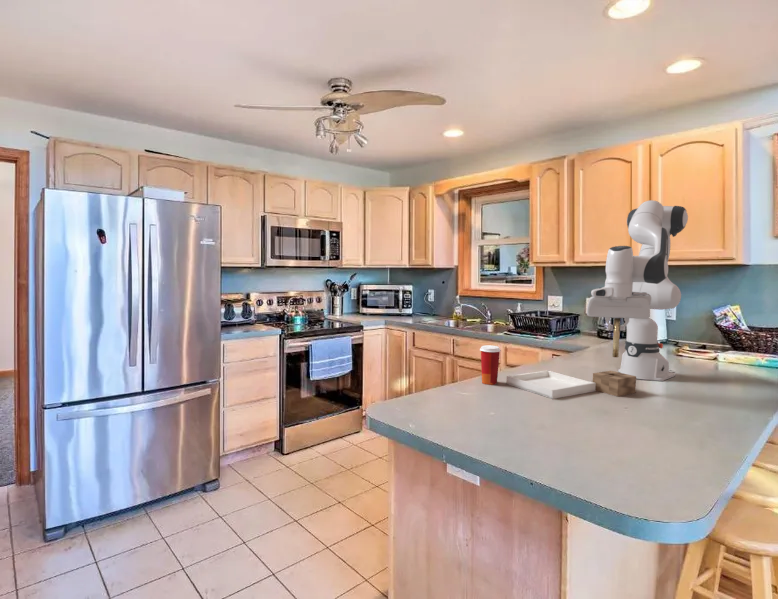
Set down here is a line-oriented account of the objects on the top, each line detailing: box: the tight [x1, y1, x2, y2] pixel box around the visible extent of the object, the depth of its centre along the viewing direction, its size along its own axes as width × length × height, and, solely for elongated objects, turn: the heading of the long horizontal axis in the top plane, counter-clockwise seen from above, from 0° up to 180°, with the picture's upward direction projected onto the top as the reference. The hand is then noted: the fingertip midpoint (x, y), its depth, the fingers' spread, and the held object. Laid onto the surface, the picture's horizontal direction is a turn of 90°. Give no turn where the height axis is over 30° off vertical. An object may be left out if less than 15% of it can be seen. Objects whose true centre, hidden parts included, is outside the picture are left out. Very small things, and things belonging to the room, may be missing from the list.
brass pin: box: [611, 318, 623, 358], centre depth 162 cm, size 3×3×15 cm
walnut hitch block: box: [592, 370, 637, 397], centre depth 163 cm, size 10×10×6 cm
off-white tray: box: [505, 370, 596, 400], centre depth 167 cm, size 22×22×3 cm
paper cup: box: [479, 344, 501, 386], centre depth 172 cm, size 8×8×14 cm
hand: (616, 330), depth 162 cm, fingers closed on brass pin, 2 cm apart
